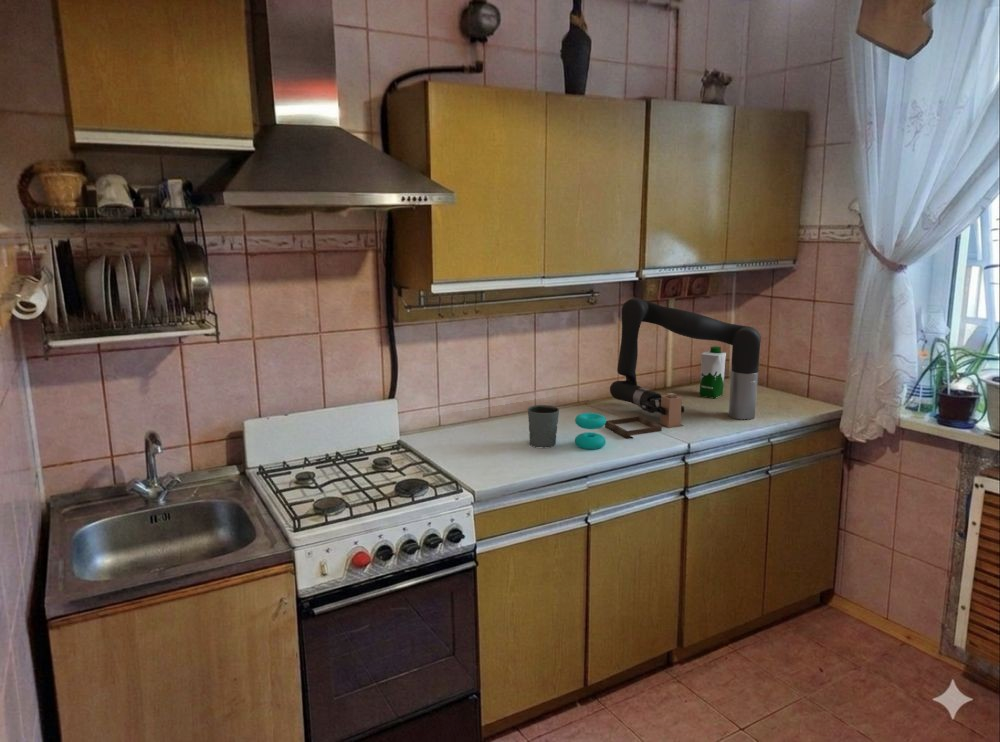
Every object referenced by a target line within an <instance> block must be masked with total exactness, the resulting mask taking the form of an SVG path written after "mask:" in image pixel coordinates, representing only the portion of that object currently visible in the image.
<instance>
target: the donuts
mask: <svg viewBox="0 0 1000 742" xmlns="http://www.w3.org/2000/svg"><path fill="white" fill-rule="evenodd" d="M574 421H575V424H576V425H577V426H578V427H579V428H581V429H586V430H598V429H601V428H603V427H605V424H606V421H607V419H606V417H605V416H604V415H602V414H600V413H596V412H584V413H580V414H578V415H577V416H576V417H575V419H574ZM606 442H607V441H606V438H605V437H604V436H603V435H602V434H599V433H597V432H588V431H587V432H583V433H580V434H578V435H576V436H575V439H574V443H575V445H576V446H577V447H579V448H580V449H585V450H599V449H602V448H603V447H605V445H606ZM598 448H599V449H598Z"/></svg>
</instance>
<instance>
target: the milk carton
mask: <svg viewBox="0 0 1000 742" xmlns="http://www.w3.org/2000/svg"><path fill="white" fill-rule="evenodd" d="M726 355H727V352H723V351H722V347H721V346H710V350H707V351H704V352H701V353H700V357H701V358H700V359H701V364H700V365H701V366H700V381H699V382H700V383H699V395H701V396H700V397H703V396H707V397H706V398H709V397H713V398H712V399H715V398H716V397H718V396H720V395H722V394H724V387H725V386H724V385H725V371H726V369H725V366H726V359H727V358H726V357H727V356H726ZM722 396H723V395H722ZM720 397H721V396H720ZM718 398H719V397H718ZM716 399H717V398H716Z"/></svg>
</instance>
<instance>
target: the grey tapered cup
mask: <svg viewBox="0 0 1000 742" xmlns="http://www.w3.org/2000/svg"><path fill="white" fill-rule="evenodd" d="M559 413H560V408H559V407H557V406H553V405H548V404H547V405H546V404H537V405H531V406H529V407H528V408H527V414H528V417H527V418H528V432H529V434H528V436H529V445H530V446H531V445H532V446H531V447H533V446H535V447H534V448H536V447H550V448H552V447H551V446H553V447H555V446H556V442H557V433H558V432H557V431H558V423H559V417H560V416H559V415H560V414H559ZM554 445H555V446H554Z"/></svg>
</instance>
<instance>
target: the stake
mask: <svg viewBox="0 0 1000 742" xmlns="http://www.w3.org/2000/svg"><path fill="white" fill-rule="evenodd" d="M666 395H667V398H670V399H671V398H676V396H678V395H677V394H675V393H672V392H671V393H669V392H668V393H666ZM656 425H658V426H661V427H664V428H666V429H671V428H673V429H674V428H679V427H685V425H683V424H680V426H673V427H667V426H665V425H663V424H661V423H660V421H659V422H656Z"/></svg>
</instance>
